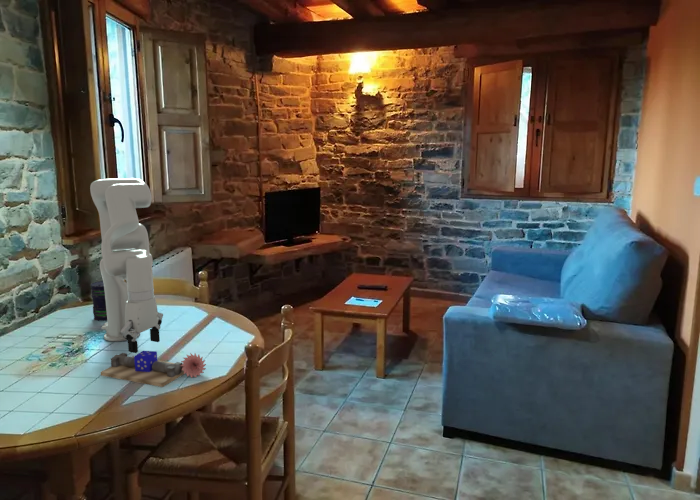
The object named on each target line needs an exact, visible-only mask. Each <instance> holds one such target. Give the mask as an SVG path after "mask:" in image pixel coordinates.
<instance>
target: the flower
mask: <svg viewBox="0 0 700 500" xmlns="http://www.w3.org/2000/svg"><path fill="white" fill-rule="evenodd" d="M189 354H190V355H188V354H186V357H183V359H184V360H181V363H182V365H181V366H183V367H182V370H184V375H185V374H186V377H187V378H188V377H191V378H197V376H201V375H202V374H203V373H204V370H207V368H206V367H205V366H206V365H207V364H206V363H205V362H206V360H205V359H204V360H203V356H200V354H196V353H194V354H193V353H191V352H190V353H189Z"/></svg>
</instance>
